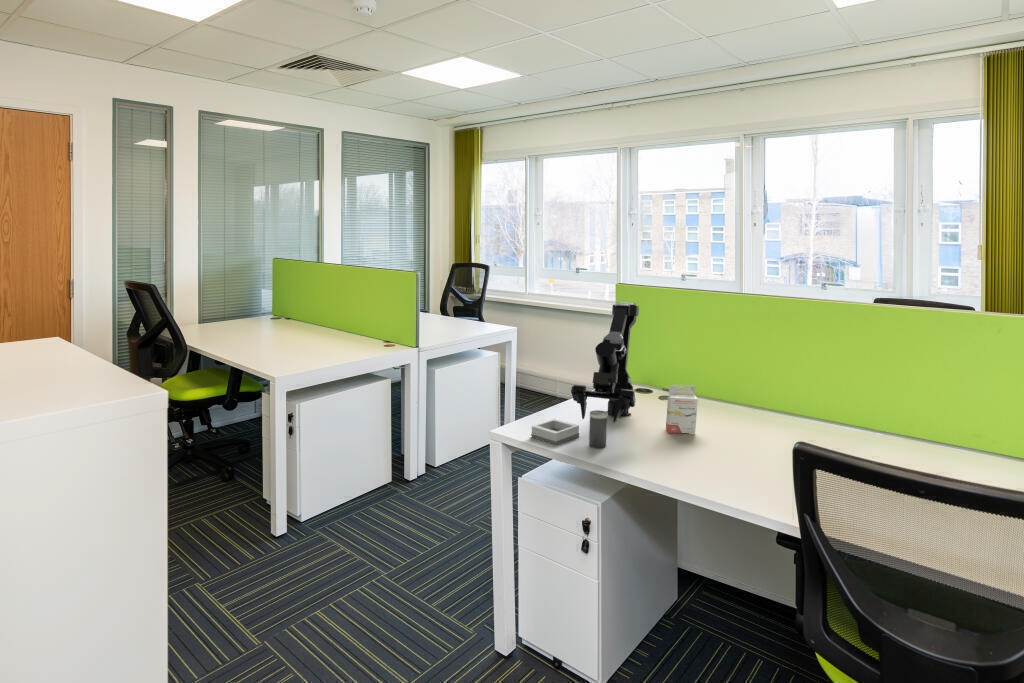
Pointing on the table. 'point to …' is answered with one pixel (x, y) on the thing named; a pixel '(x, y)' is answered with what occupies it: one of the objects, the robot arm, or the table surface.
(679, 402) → the ink cartridge box
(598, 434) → the gray cylindrical canister
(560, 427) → the white open box
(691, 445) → the table surface
